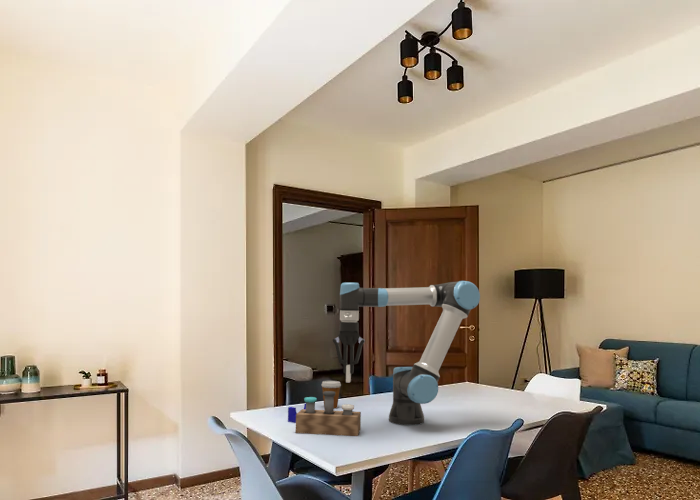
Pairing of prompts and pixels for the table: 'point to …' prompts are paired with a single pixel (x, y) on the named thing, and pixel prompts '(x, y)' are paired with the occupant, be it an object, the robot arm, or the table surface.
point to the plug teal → (310, 404)
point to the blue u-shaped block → (292, 414)
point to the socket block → (328, 423)
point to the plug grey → (347, 409)
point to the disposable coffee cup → (332, 387)
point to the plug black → (329, 402)
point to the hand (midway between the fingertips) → (348, 381)
